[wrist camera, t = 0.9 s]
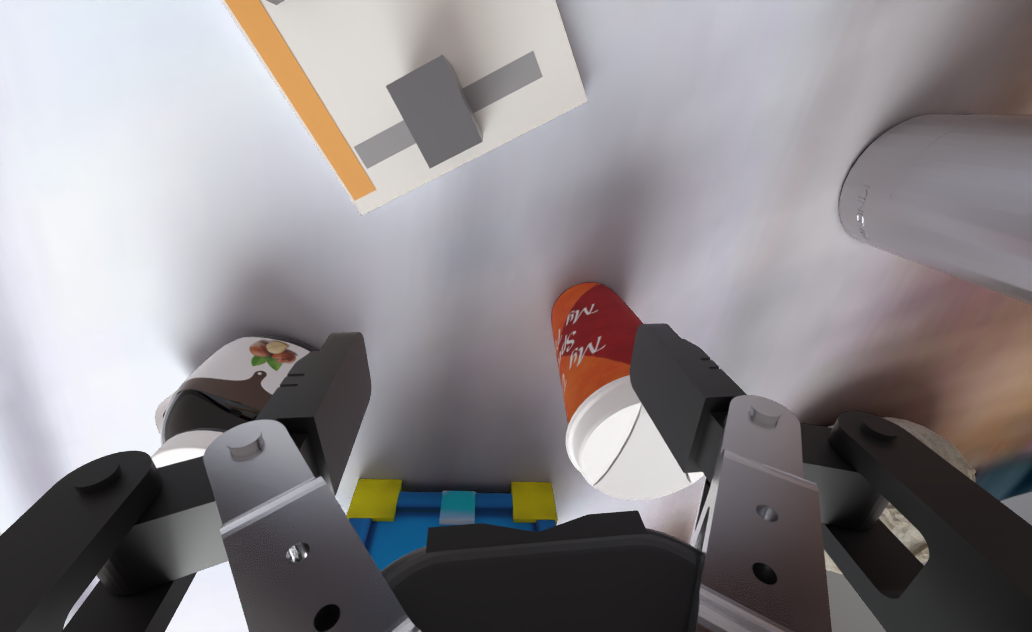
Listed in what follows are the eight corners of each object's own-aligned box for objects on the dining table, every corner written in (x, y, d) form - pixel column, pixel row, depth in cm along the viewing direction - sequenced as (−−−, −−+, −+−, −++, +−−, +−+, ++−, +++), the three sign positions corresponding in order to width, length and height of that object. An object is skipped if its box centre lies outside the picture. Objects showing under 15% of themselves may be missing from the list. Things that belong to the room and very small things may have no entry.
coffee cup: (541, 267, 31) (580, 390, 18) (644, 269, 31) (756, 389, 18) (534, 357, 35) (562, 512, 22) (625, 357, 35) (707, 507, 22)
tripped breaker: (451, 64, 22) (442, 54, 18) (483, 134, 24) (482, 141, 20) (405, 89, 23) (385, 86, 18) (440, 157, 25) (429, 168, 20)
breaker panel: (463, -257, 18) (460, -296, 17) (581, 101, 26) (588, 101, 24) (191, -71, 21) (162, -88, 19) (369, 208, 28) (361, 215, 26)
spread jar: (364, 364, 34) (311, 476, 24) (318, 448, 38) (256, 573, 28) (215, 300, 30) (77, 400, 20) (182, 400, 35) (54, 524, 24)
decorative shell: (900, 366, 38) (1025, 445, 29) (920, 469, 46) (1023, 557, 37) (724, 446, 42) (787, 538, 33) (769, 530, 49) (830, 622, 41)
